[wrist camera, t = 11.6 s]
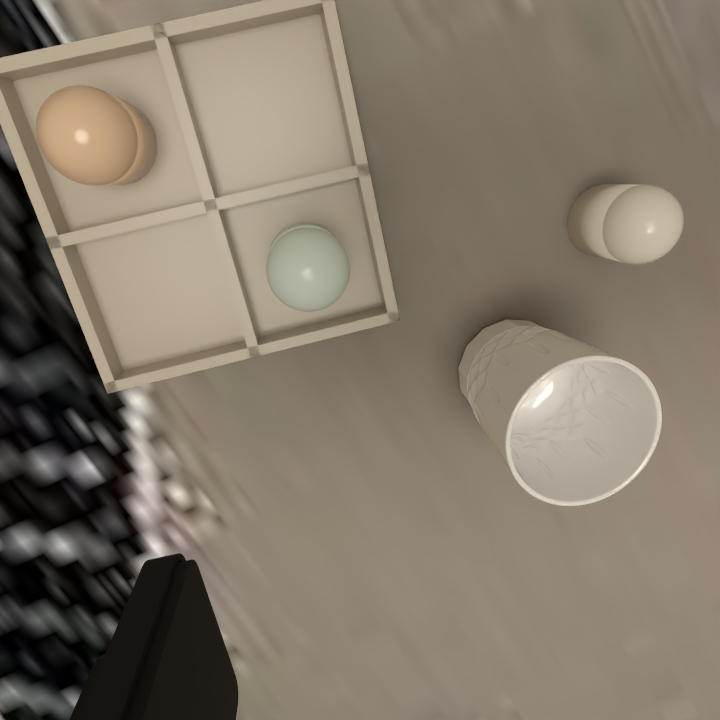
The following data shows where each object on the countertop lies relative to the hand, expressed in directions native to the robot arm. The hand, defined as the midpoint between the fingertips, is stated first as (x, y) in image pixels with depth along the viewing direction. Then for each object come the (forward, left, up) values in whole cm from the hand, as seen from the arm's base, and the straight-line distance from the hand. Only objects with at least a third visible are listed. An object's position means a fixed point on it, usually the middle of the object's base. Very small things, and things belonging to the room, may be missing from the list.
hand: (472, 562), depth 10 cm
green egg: (+2, -2, -25) cm, 25 cm away
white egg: (-16, 0, -25) cm, 30 cm away
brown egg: (+10, -10, -25) cm, 29 cm away
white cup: (-9, +8, -26) cm, 28 cm away
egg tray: (+6, -6, -25) cm, 27 cm away
